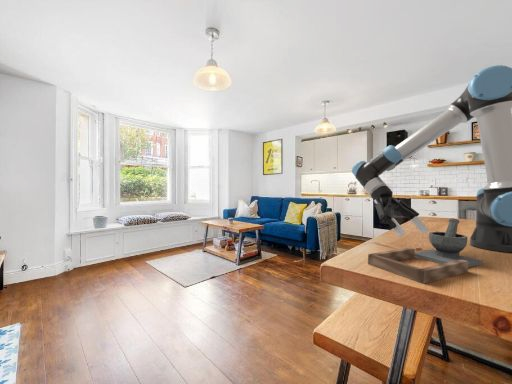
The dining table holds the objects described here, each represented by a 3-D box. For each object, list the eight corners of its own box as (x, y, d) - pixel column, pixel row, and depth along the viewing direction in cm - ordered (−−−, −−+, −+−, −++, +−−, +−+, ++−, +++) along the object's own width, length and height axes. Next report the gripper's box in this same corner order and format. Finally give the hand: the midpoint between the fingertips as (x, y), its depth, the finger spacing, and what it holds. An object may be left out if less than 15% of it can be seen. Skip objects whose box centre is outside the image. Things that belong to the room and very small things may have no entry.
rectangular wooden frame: (410, 256, 81) (410, 247, 81) (467, 271, 67) (468, 261, 67) (368, 263, 73) (368, 254, 73) (423, 283, 58) (424, 271, 58)
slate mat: (432, 252, 87) (433, 249, 87) (482, 263, 74) (482, 260, 74) (411, 255, 82) (412, 253, 82) (461, 269, 69) (461, 265, 69)
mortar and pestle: (458, 261, 72) (459, 222, 72) (423, 254, 80) (424, 218, 80) (472, 256, 78) (473, 219, 78) (438, 249, 86) (439, 216, 86)
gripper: (392, 196, 107) (427, 236, 94) (351, 197, 97) (384, 242, 84) (404, 184, 102) (442, 225, 89) (362, 184, 92) (399, 229, 79)
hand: (414, 233), depth 86 cm, fingers open, 13 cm apart
